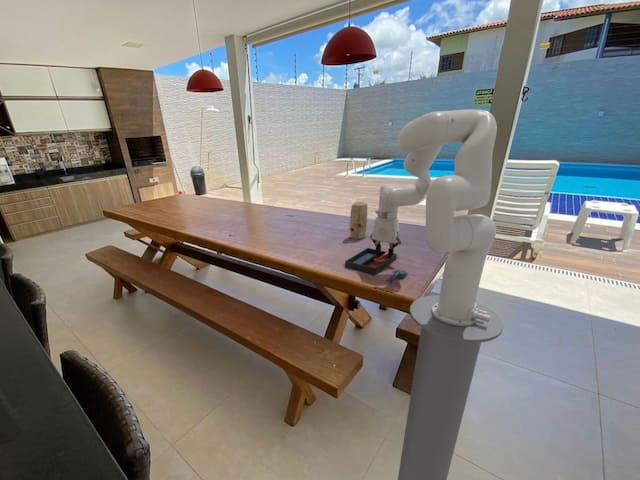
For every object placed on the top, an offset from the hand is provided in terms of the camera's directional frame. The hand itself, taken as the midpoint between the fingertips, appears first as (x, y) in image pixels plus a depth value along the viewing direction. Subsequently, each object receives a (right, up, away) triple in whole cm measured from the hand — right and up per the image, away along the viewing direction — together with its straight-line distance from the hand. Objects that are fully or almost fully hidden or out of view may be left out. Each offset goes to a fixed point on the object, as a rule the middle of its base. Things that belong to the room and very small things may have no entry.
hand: (384, 254), depth 135 cm
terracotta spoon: (-1, -3, 0) cm, 3 cm away
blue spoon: (0, -10, -15) cm, 18 cm away
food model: (-4, +10, +30) cm, 32 cm away
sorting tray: (-6, -4, 0) cm, 7 cm away
